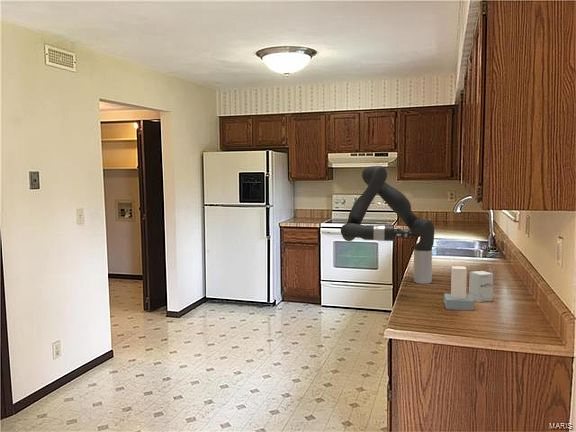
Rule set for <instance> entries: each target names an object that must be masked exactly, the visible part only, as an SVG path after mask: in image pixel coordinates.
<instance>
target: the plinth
mask: <svg viewBox="0 0 576 432" xmlns="http://www.w3.org/2000/svg"><path fill="white" fill-rule="evenodd" d="M443 303H444V306H445V309H446V310H457V311H458V310H459V311H475V301H474V300H473V299H472V297H471V295H469V294H467V293H466V299H452V296H451V293H444V294H443Z"/></svg>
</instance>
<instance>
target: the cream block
mask: <svg viewBox="0 0 576 432" xmlns="http://www.w3.org/2000/svg"><path fill="white" fill-rule="evenodd" d="M467 270H468V269H467V267H466V266H460V265H459V266H457V265H456V266H453V265H451V272H450V273H451V274H450V275H451V276H450V277H451V281H450V294H451V296H452V299H466V294H467V277H468V276H467V275H468V274H467V272H468V271H467Z"/></svg>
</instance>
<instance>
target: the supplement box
mask: <svg viewBox="0 0 576 432" xmlns="http://www.w3.org/2000/svg"><path fill="white" fill-rule="evenodd" d="M468 279H469V283H468V285H469V286H468V287H469V288H468V295H471V297H472V299H473V300H474V302H477V303H481V302H483V303H484V302H493V289H494V287H493V286H494V285H493V284H494V273H491V272H489V271H485V270H478V271H477V270H476V271H469V278H468Z"/></svg>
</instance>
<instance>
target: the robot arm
mask: <svg viewBox="0 0 576 432" xmlns="http://www.w3.org/2000/svg"><path fill="white" fill-rule="evenodd" d="M361 176H362V177H361V178H362V181H363V182H364V183H365V184H366V185H367V187H366V189H365V190H364V192H362V194H360V195H359V197H358V198H357V199H356V200H355V202H354V203H353V205H352V206H351V209H350V212H349V214H348V217H347V218H348V219H347V222H346V223H345V224H343V225H342V226H341V228H340V233H341V237H342V238H343V240H344V241H347V242H353V240H355V239H358V238H359V239H362V240H365V241H379V242H380V241H383V242H394V241H395V237H396V238H399V239H402V238H404V239H407V238H408V239H410V238H419V241H418V242H417V243H415V244H414V245H413V282H414V283H415V282H416V284H419V285H420V284H422V285H426V284H427V285H429V284H432V278H433V276H432V275H433V274H432V273H433V271H432V268H433V246H434V244H435V243H434V242H435V224H434V222H433V221H432V220H429V219H421V218H419V217H418V216H417V215H416V214H415V213H414V212H413V210H412V204H411V202H410V200H409V199H408V198H407V197H406V195H405V194H403V192H402V191H400V190H398V189H397V188H395V187H393V186H391V185H389V184H388V183H387V182H386V181H387V178H388V173H387V170H386V168H385V167H384V166H382V165H374V166H367V167H365V168H364V169H363V170H362V172H361ZM377 194H378V196H379V197H380V198H381V199H382V200H383V201H384V202H385V203H386V204H387V205H388V207H389V208H390V209H391V210H392V211H393V212H394V213H395V214H396V215H397V216H398V217H399V218H400V219H401V220H402V221H403V223H404V224H405V226H406V227H407V228H401V227H400V228H399V227H398V228H396V229H395V225H394V224H365V225H364V224H362V223H363V222H362V221H364V218H365V216H366V214H367V212H368V209H369V207H370V206H371V204H372V202H373V201H374V199H375V198H376V196H377Z"/></svg>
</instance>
